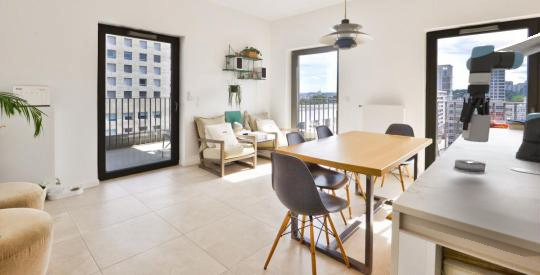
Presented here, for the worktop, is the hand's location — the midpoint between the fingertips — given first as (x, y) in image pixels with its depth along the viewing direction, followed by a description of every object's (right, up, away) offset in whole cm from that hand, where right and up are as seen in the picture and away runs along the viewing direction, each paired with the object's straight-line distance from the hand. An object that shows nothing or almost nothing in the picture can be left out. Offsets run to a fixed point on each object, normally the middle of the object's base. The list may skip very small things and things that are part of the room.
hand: (472, 137), depth 123 cm
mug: (-1, -1, 0) cm, 2 cm away
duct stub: (0, -14, +2) cm, 14 cm away
